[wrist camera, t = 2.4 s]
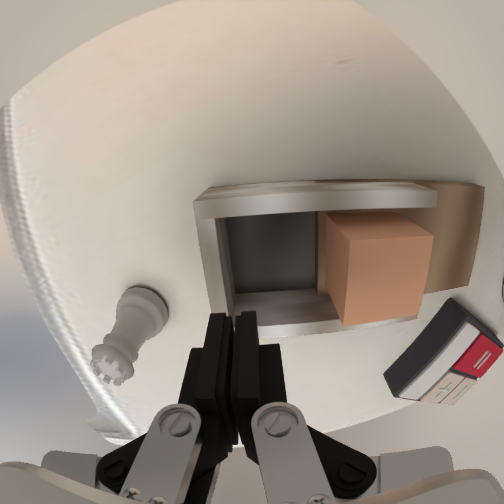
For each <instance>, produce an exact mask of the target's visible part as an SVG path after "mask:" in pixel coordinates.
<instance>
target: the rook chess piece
mask: <svg viewBox="0 0 504 504" xmlns="http://www.w3.org/2000/svg"><path fill="white" fill-rule="evenodd" d="M167 319H168V313H167V308H166V306H165V305H164V303H163V301H162V299H161V298H160V297H159V296H158V295H156V294H155V293H154V292H152V291H150V290H148V289H145V288H138V287H134V288H131V289H128V290H126V291H125V292H124V294H123V295H122V297H121V299H120V300H119V301H118V304H117V309H116V323H115V325H114V327H113V329H112V331H111V333H110V334H107V335H106V336H105V337H104V340H103V343H104V344H101V345H96V346H95V347H94V348H93V349H92V358H93V359H92V361H91V366H92V367H95V368H94V370H93V372H94V373H95V374H96V376H99V375H100V373H102V374H103V375H104V376H105V377H104V379H103V381H104V382H106V383H108V384H109V383H110V381H111V379H112V380H114V382H113V383H114V385H120V384H121V382H122V383H124V381H125V380H127V379H129V378H131V377H132V376H133V374H134V368H133V365H132V363H133V362H135V361H136V360H137V358H138V351H139V349H140V347H141V346H142V345H143V344H144V342H145V341H146V340H149V339H150V338H152V337H155V336H156V335H157V334H158V333H160V332H161V331H162V329H163V326H165V324H166V322H167Z"/></svg>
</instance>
